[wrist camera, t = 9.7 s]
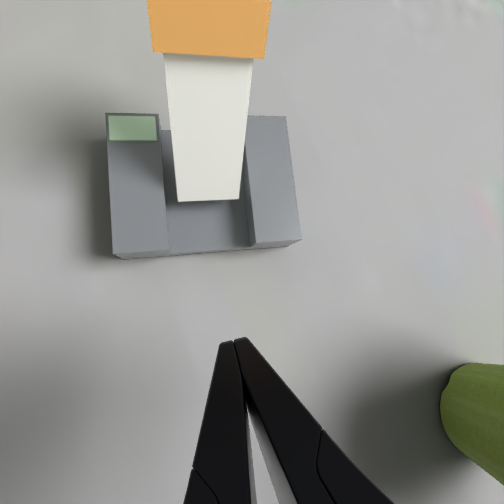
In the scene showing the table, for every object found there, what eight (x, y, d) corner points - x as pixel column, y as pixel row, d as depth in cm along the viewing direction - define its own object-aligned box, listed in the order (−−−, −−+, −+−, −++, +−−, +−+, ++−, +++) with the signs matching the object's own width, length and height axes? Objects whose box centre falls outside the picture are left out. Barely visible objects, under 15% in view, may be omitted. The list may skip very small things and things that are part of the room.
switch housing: (287, 246, 23) (302, 238, 20) (123, 259, 21) (111, 253, 17) (274, 137, 24) (286, 114, 21) (116, 137, 22) (104, 111, 18)
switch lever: (245, 202, 20) (271, 2, 12) (171, 206, 19) (145, -11, 11) (238, 177, 22) (256, -13, 14) (170, 179, 21) (146, -26, 13)
